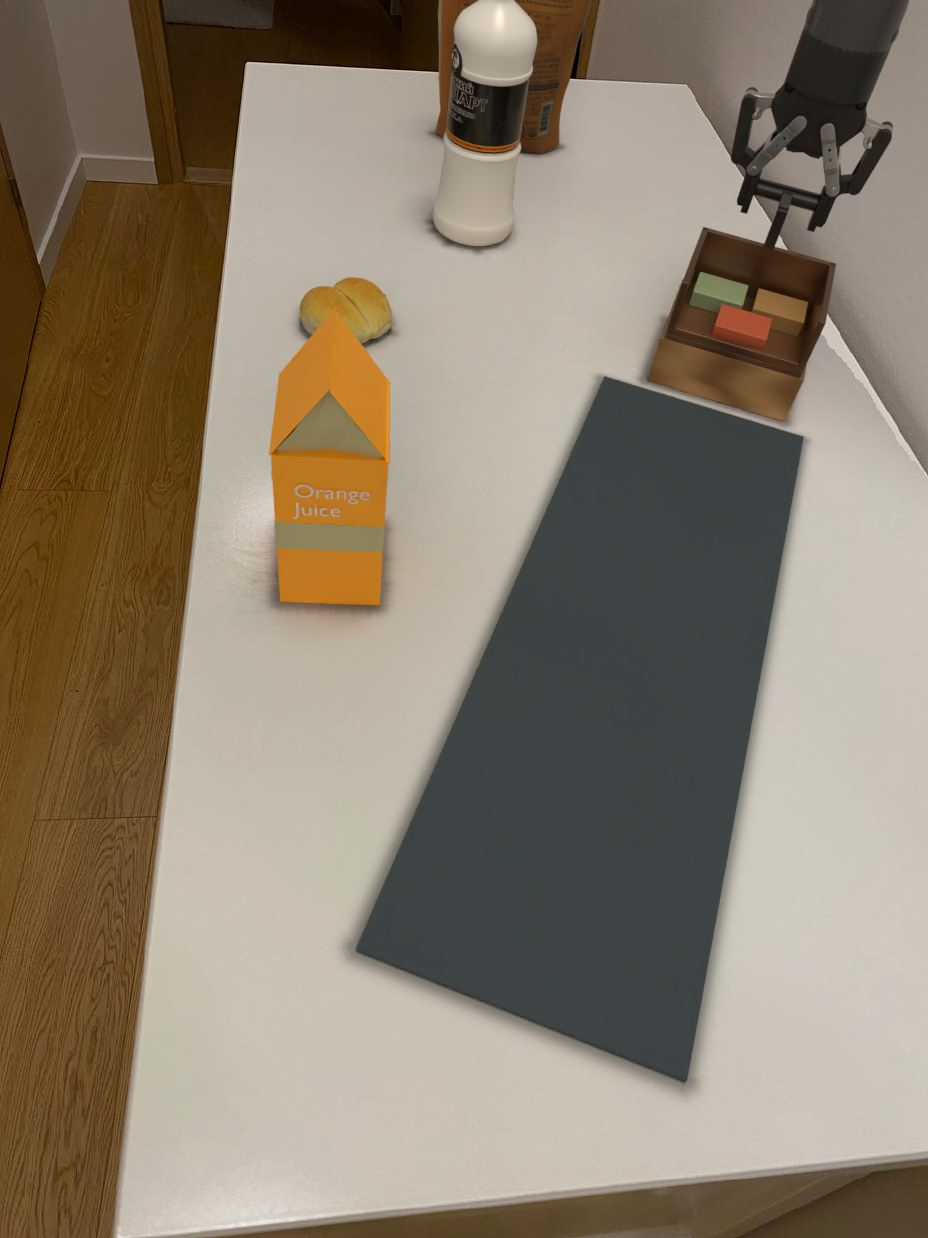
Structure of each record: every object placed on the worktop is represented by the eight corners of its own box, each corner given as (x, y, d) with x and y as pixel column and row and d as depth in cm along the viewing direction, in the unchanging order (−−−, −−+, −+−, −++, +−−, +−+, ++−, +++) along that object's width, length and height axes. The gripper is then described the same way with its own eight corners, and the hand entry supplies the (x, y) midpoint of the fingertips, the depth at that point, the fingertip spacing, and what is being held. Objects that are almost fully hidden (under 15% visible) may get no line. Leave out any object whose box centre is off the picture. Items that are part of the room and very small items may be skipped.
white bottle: (518, 250, 107) (570, -63, 84) (437, 249, 106) (467, -72, 82) (504, 209, 113) (549, -96, 90) (427, 206, 111) (452, -105, 88)
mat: (802, 439, 91) (803, 436, 91) (685, 1082, 53) (687, 1080, 53) (603, 379, 94) (604, 375, 93) (355, 950, 56) (356, 948, 55)
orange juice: (382, 523, 78) (395, 309, 62) (381, 606, 72) (395, 393, 57) (285, 519, 77) (274, 301, 62) (277, 602, 71) (262, 385, 56)
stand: (797, 358, 100) (816, 316, 96) (784, 422, 93) (804, 379, 89) (669, 320, 102) (682, 278, 98) (646, 380, 94) (660, 337, 90)
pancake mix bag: (571, 164, 122) (623, -100, 101) (424, 148, 120) (445, -124, 99) (567, 140, 126) (617, -118, 105) (425, 124, 125) (445, -141, 103)
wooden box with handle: (816, 297, 98) (858, 201, 90) (799, 378, 89) (846, 279, 81) (692, 262, 100) (724, 165, 92) (664, 338, 90) (696, 237, 83)
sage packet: (743, 299, 95) (748, 284, 94) (737, 319, 93) (743, 305, 92) (695, 285, 96) (700, 271, 95) (688, 305, 94) (693, 290, 92)
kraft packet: (802, 316, 95) (808, 301, 93) (797, 336, 92) (804, 322, 91) (753, 302, 95) (758, 287, 94) (747, 322, 93) (753, 308, 92)
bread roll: (285, 314, 95) (284, 278, 92) (363, 293, 99) (364, 257, 95) (327, 359, 91) (327, 323, 88) (405, 335, 95) (408, 299, 92)
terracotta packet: (766, 332, 92) (772, 318, 91) (760, 354, 89) (767, 339, 88) (716, 317, 93) (721, 303, 91) (709, 339, 90) (714, 324, 89)
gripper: (935, 36, 82) (852, 221, 95) (772, -4, 84) (712, 183, 97) (933, 66, 77) (846, 256, 90) (760, 23, 79) (699, 215, 92)
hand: (777, 217), depth 93 cm, fingers closed on wooden box with handle, 6 cm apart
